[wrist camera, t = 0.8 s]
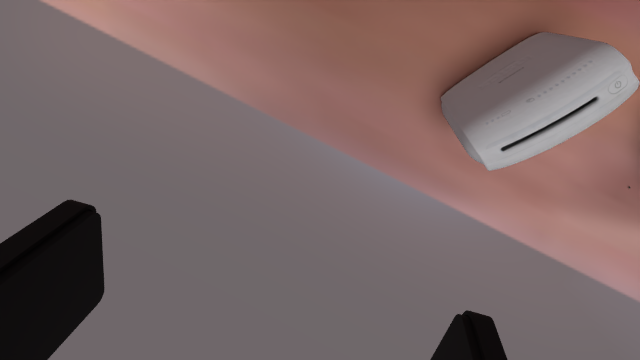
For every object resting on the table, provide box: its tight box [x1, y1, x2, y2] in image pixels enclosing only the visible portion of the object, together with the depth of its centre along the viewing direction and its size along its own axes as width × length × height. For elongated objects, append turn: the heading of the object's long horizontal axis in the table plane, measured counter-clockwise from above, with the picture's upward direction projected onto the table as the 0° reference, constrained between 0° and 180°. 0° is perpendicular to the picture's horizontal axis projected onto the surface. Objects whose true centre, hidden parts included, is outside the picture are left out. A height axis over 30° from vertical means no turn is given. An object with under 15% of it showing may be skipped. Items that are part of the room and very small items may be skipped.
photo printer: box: [441, 32, 639, 171], centre depth 27 cm, size 10×4×12 cm, turn 128°
